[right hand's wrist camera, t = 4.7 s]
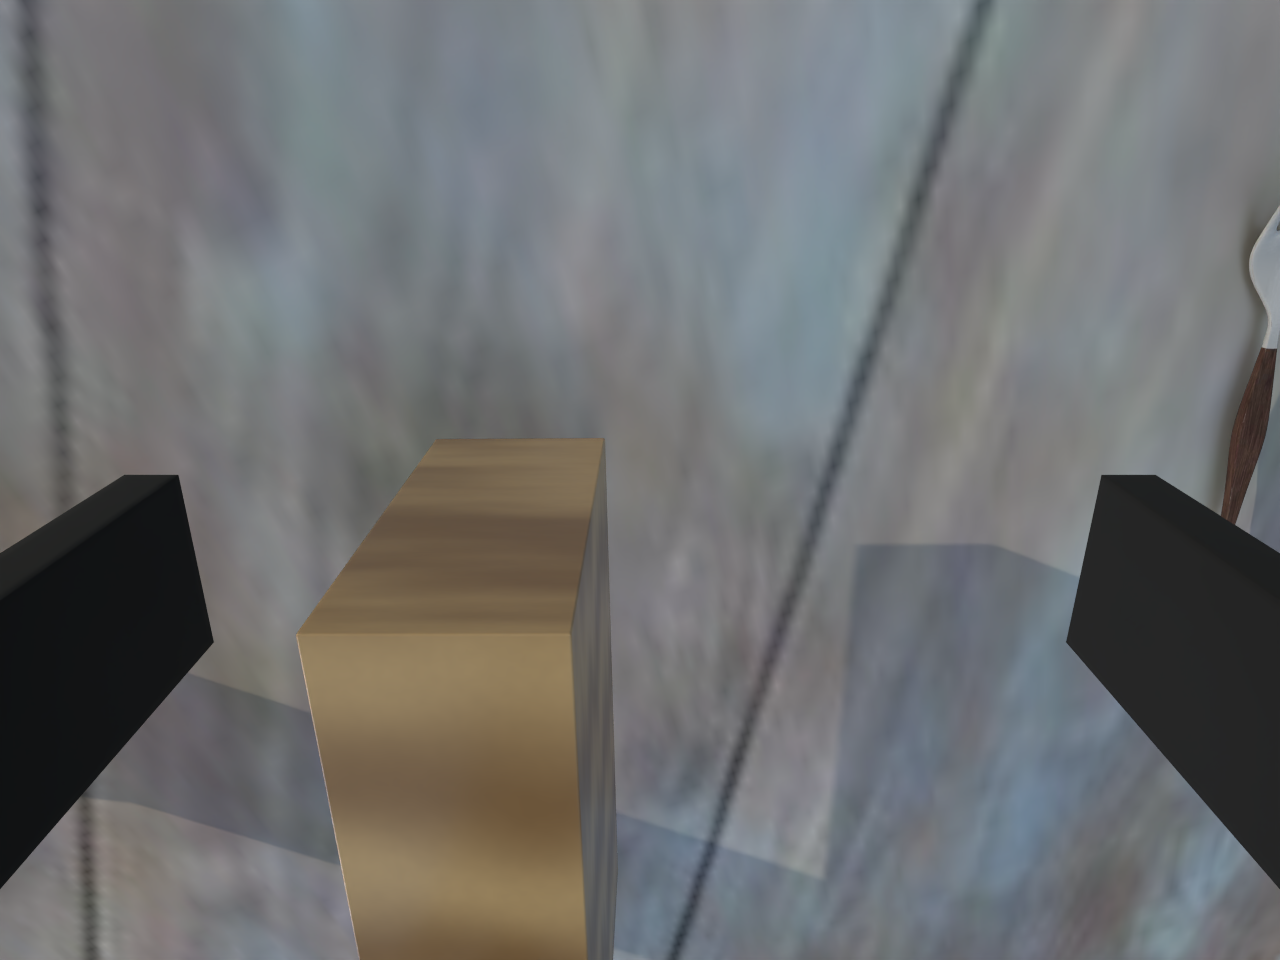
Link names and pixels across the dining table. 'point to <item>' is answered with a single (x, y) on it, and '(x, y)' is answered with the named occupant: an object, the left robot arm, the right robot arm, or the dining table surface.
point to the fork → (1256, 374)
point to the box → (474, 709)
